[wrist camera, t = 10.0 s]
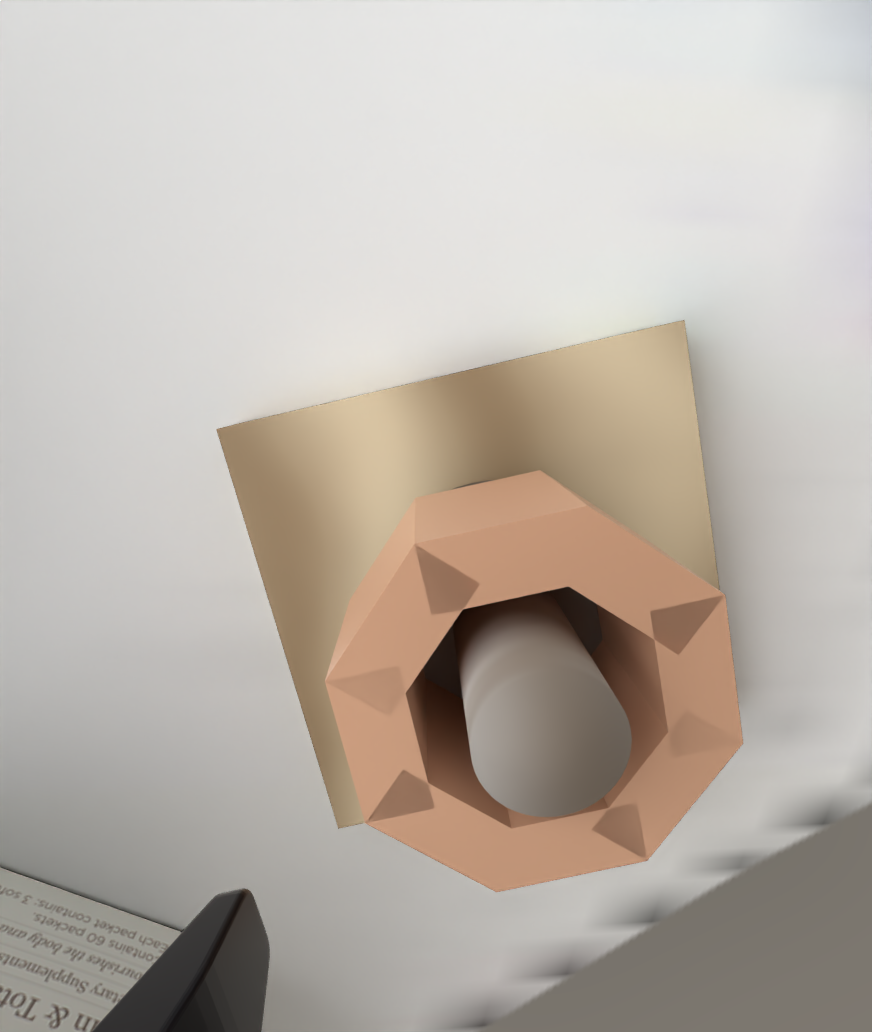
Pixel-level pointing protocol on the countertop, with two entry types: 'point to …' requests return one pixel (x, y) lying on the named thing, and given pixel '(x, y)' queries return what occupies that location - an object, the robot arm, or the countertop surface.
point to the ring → (620, 657)
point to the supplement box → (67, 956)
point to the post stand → (459, 463)
